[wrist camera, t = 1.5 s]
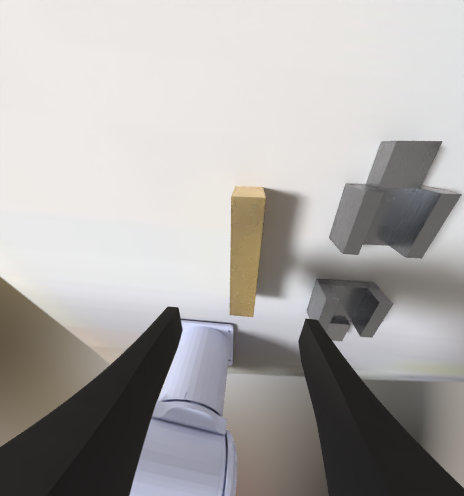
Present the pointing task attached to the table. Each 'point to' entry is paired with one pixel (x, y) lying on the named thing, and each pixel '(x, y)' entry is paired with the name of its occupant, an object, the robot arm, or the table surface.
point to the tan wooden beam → (245, 247)
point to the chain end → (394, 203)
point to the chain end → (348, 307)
